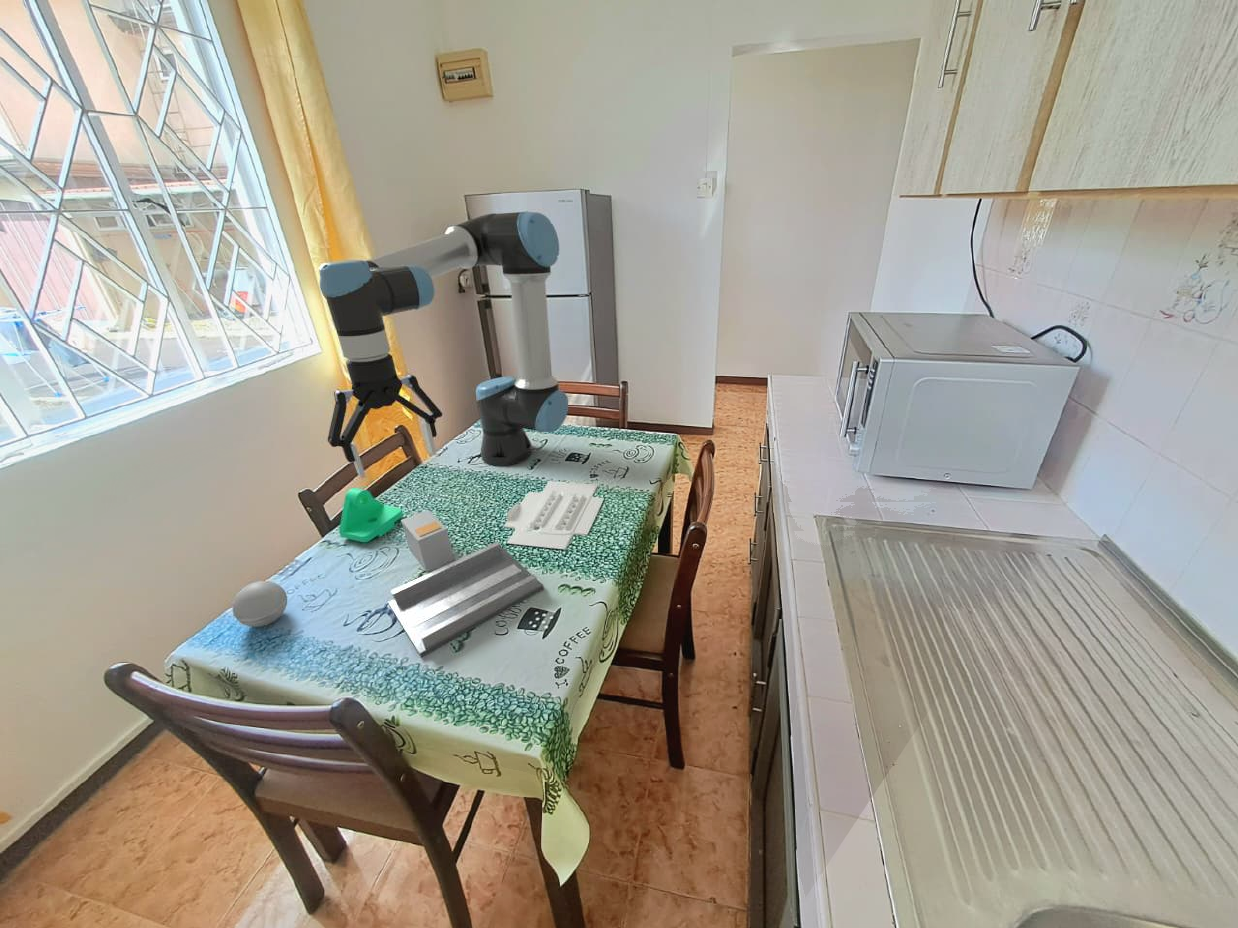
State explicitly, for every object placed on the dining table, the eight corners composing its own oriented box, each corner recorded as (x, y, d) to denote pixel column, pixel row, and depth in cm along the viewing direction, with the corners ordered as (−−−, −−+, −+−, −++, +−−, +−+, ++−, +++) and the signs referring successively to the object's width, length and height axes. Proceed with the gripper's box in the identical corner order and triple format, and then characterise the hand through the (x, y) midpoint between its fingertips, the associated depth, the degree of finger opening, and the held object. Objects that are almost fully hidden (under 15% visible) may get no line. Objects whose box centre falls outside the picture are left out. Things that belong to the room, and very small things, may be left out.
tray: (610, 488, 128) (609, 476, 126) (581, 558, 105) (579, 544, 103) (537, 483, 132) (535, 471, 131) (493, 549, 109) (490, 536, 107)
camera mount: (368, 546, 109) (354, 508, 104) (342, 540, 111) (328, 502, 107) (406, 518, 119) (395, 481, 114) (382, 512, 121) (370, 476, 116)
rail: (503, 551, 105) (501, 538, 103) (543, 589, 94) (541, 575, 92) (389, 606, 92) (385, 592, 90) (421, 657, 81) (416, 642, 79)
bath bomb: (282, 598, 95) (266, 566, 91) (301, 614, 91) (286, 581, 87) (235, 624, 89) (216, 591, 85) (254, 643, 85) (235, 609, 81)
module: (436, 538, 110) (428, 508, 107) (454, 559, 103) (446, 527, 100) (409, 550, 107) (400, 519, 103) (426, 572, 100) (417, 539, 96)
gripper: (429, 339, 95) (451, 438, 105) (282, 367, 81) (323, 478, 91) (445, 346, 90) (466, 449, 100) (291, 376, 76) (333, 493, 86)
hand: (398, 463), depth 95 cm, fingers open, 13 cm apart
